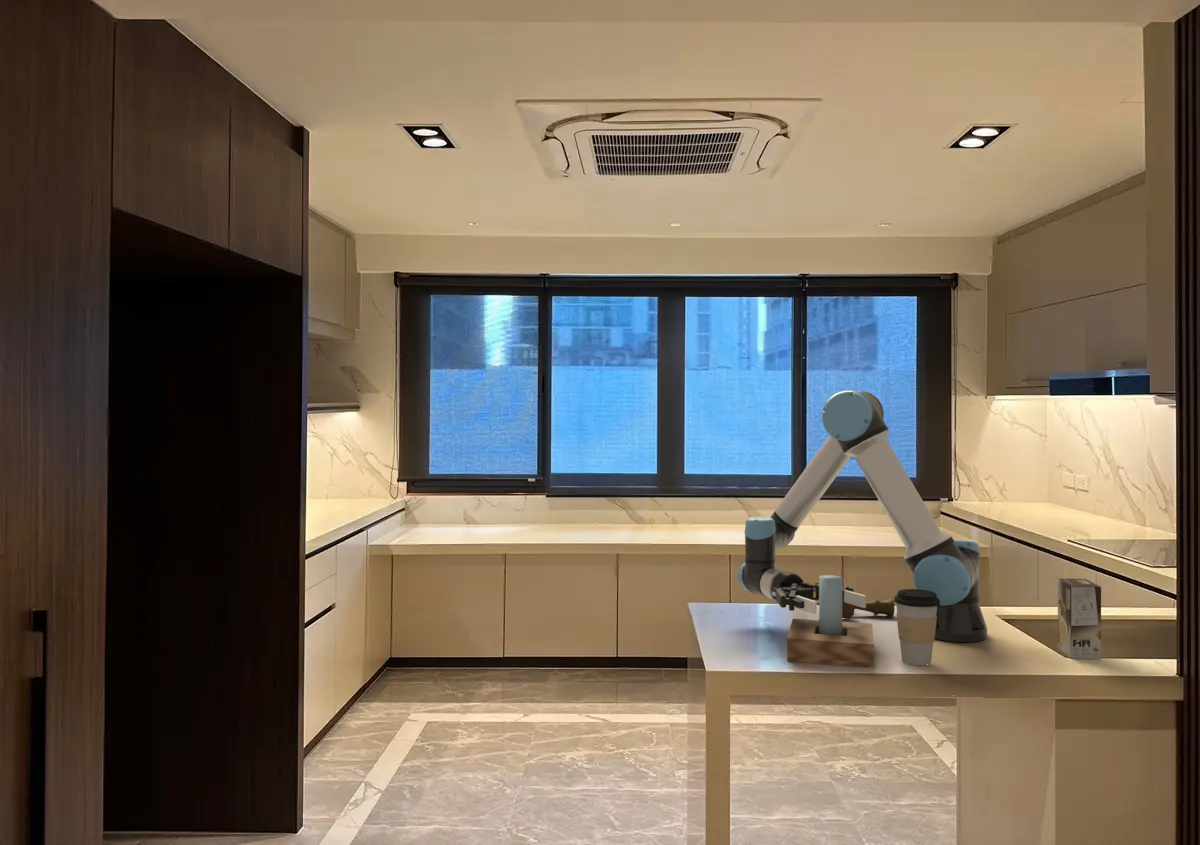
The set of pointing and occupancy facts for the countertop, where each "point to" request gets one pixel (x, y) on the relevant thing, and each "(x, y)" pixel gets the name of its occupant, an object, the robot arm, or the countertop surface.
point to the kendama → (869, 608)
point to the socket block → (831, 644)
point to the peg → (830, 605)
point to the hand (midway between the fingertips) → (840, 604)
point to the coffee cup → (916, 624)
